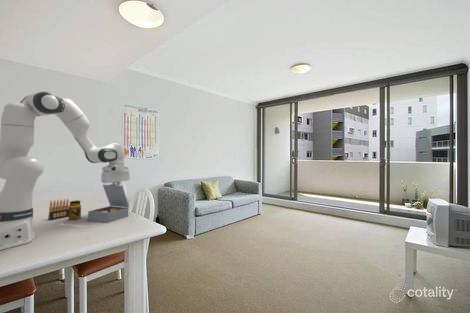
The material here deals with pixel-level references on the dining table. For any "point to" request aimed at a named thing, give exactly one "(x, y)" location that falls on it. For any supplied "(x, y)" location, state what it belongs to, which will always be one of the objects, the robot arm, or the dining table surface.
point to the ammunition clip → (58, 210)
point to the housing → (107, 214)
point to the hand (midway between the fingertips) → (116, 188)
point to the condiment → (74, 210)
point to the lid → (116, 195)
